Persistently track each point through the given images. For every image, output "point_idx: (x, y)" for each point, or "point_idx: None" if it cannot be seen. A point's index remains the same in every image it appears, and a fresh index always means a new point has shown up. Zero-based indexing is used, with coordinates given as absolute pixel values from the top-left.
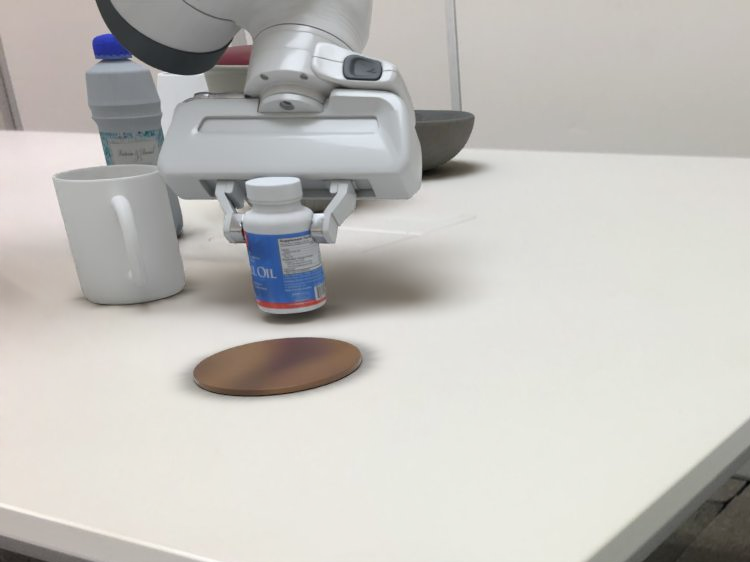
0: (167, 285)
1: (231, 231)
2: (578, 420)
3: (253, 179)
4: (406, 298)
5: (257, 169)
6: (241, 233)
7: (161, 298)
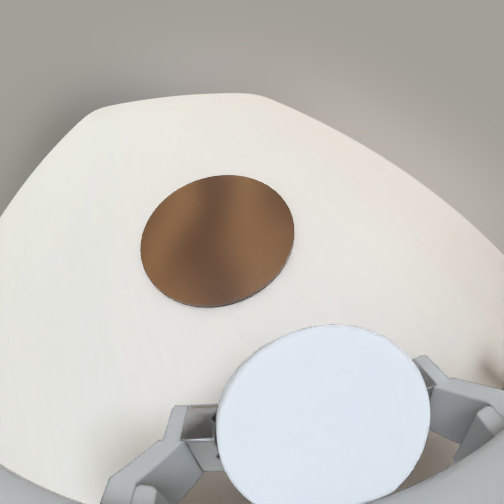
0: None
1: None
2: (36, 205)
3: (422, 424)
4: None
5: (448, 484)
6: None
7: None
